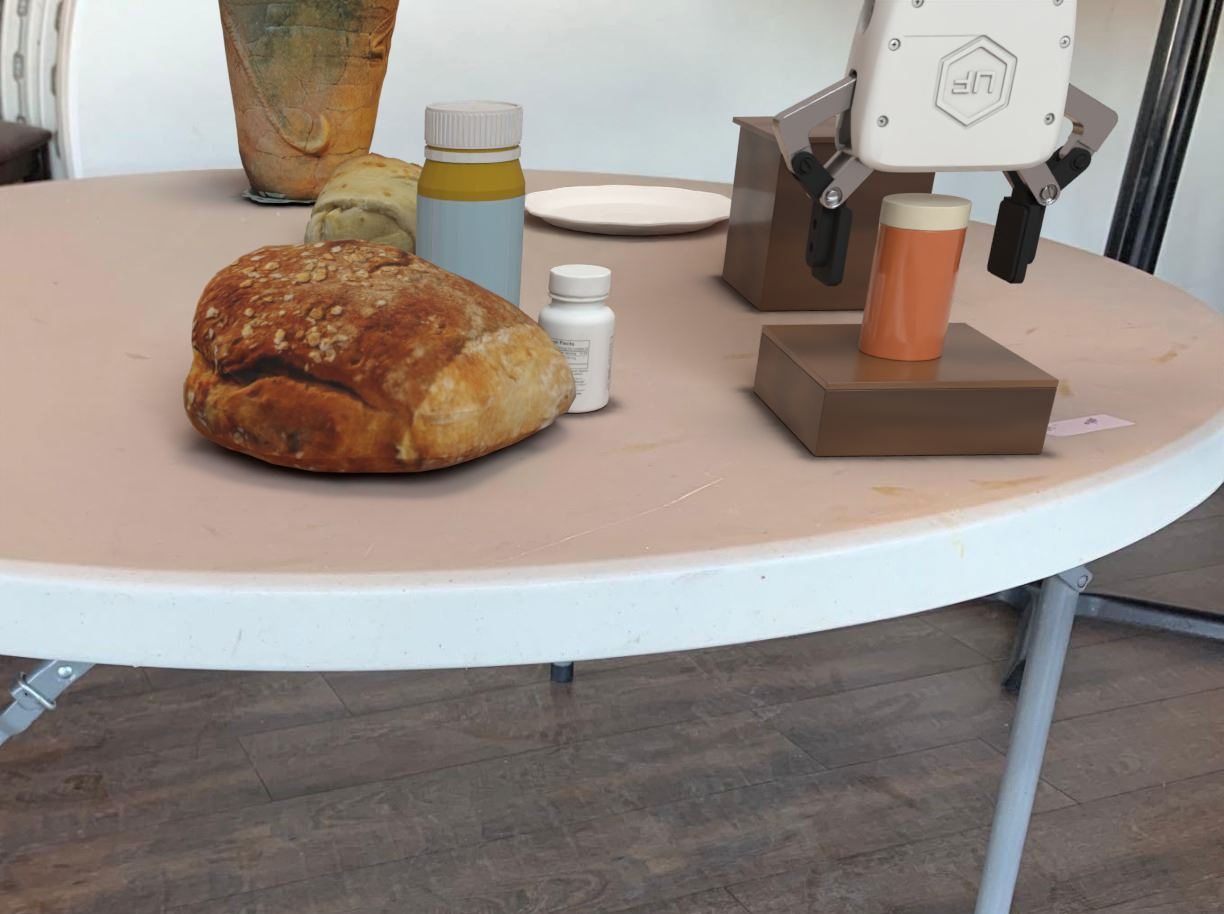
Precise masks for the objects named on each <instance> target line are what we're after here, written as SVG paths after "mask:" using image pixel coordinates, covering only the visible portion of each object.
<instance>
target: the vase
mask: <svg viewBox="0 0 1224 914" xmlns="http://www.w3.org/2000/svg"><path fill="white" fill-rule="evenodd" d="M217 3H218V10H219V16H220V17H219V18H220V24H221V30H222V37H223V45H224V54H225V60H226V61H225V62H226V68H227V73H228V81H229V86H230V93H231V99H232V105H233V112H234V120H235V121H234V122H235V127H236V137H237V147H238V154H239V157H240V162H241V165H242V168H243V170H244V173H245V175H246V177H247V179H248V183H249V185H250V188H248V189H245V190H243V194H242V195H241V196H242V197H246V198H251V200H252V201H257V202H259V203H277V204H278V203H279V204H280V203H281V204H283V203H284V204H285V203H305V204H310V203H316V201H317V198H318V196H319V194H320V192H321V191H322V190H323V188H324V186H325V184H326V182H327V181H328V179H329V177H330V175H331V173H332V170H333V169H334V168H335V167H336V166H337V165H338V164H339V163H341V162H342V161H344V160H347V159H349V158H352V157H356V156H360V155H365V154H370V150H371V146H372V143H373V139H374V135H375V129H376V124H377V118H378V112H379V106H380V98H381V94H382V89H383V84H384V81H385V79H386V76H387V72H388V66H389V65H388V64H389V56H390V52H391V49H392V38H393V35H394V31H395V27H396V20H397V15H398V10H399V6H400V5H399V4H400V0H217Z"/></svg>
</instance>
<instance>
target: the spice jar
mask: <svg viewBox="0 0 1224 914" xmlns="http://www.w3.org/2000/svg"><path fill="white" fill-rule="evenodd" d="M972 208H973V202H972V201H971V200H970V199H968V198H965V197H961V196H956V195H951V194H941V193H932V194H928V193H903V194H893V195H888V196H885V197H884V198H883V201H882V207H881V213H880V219H879V224H878V230H877V236H876V242H875V248H874V254H873V260H872V266H871V272H870V278H869V284H868V289H867V295H866V301H865V307H864V310H863V314H862V320H861V324H862V325H861V331H860V337H859V343H858V349H859V350H860V351H862V352H863V353H866V354H868V355H871V356H875V357H879V358H884V359H891V360H900V361H924V360H931V359H935V358H938V357H940V356H941V355H942V353H943V348H944V343H945V338H946V333H947V328H948V323H950V317H951V312H952V309H953V302H954V298H955V294H956V293H955V292H956V287H957V283H958V277H959V272H960V268H961V264H962V263H961V262H962V257H963V252H964V247H965V243H966V238H967V232H968V226H969V221H970V217H971V212H972Z"/></svg>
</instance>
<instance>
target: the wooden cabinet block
mask: <svg viewBox="0 0 1224 914" xmlns="http://www.w3.org/2000/svg"><path fill="white" fill-rule="evenodd" d="M775 116H776V115H774V116H772V115H771V116H767V115H766V116H764V115H763V116H733V117H732V123H734V124H736V125H737V126H739V135H738V143H737V151H736V158H735V159H736V160H735V168H734V174H733V175H734V176H733V184H732V193H731V199H732V200H731V208H730V216H729V219H728V225H727V232H726V242H725V249H724V251H725V252H724V258H723V267H722V268H723V269H722V273H721V274H722V275H721V279H723V280H724V281H725V282H727V284H729V285H730V286H731V287H732V288H733V289H735V290H736V292H738V294H740V295H741V296H742V297H744V298H745V299H746V300H747V301H748V302H750V303H751V305H753V306H754V307H756V309H757V310H759V311H760V312H761V311H762V312H766V311H769V312H770V311H771V312H773V311H846V310H848V311H854V310H855V311H857V310H859V311H860V310H861V311H862V310H863V311H864V307H865V301H866V295H867V289H868V284H869V278H870V272H871V266H872V260H873V254H874V248H875V242H876V236H877V230H878V224H879V219H880V213H881V207H882V201H883V198H884V197H885V196H888V195H893V194H903V193H928V194H933V188H934V183H935V177H936V173H937V172H885V171H879V170H876V169H875V170H874V171H873V172H872V173H871V174H870V175H869V176H868V177H867V178H866V179H865V180H864V181H863V182H862V183H861V184H860V185H859V186H858V187H857V188H856V190H855V191H854V192H853V193H852V194H851V195H850V196H849V197H848V198H847V201H846V207H847V208H849V209H851V210H852V213H853V217H852V224H851V230H850V236H849V243H848V249H847V255H846V262H845V268H844V274H843V280H842V283H841V284H838V286H826V285H824V284H823V283H821V282H820V281H819V280H817V279H816V278H814V277H813V276H812V274H811V267H809V266H808V265H807V264H806V248H807V241H808V234H809V227H810V220H811V213H812V206H813V200H812V199H810V198H809V197H808V196H807V194H806V191H805V190H804V189H803V188H802V187H801V185H800V184H799V183H798V182H797V181H796V179H795V178H794V177H793V176H792V175H791V173H790V172H789V171H788V170H787V168H786V166H785V159H784V157H783V154H782V153H781V150H780V147H779V144H778V142H777V139H776V136H775V133H774V131H773V128H772V120H773V118H774V117H775ZM836 119H837V115H836V116H834V117H832V118H830V119H828V120H826V121H824V122H823V123H821V124H819V125H817V126H815V127H814V128H812V130H811V131H810V133H809V142H810V144H811V145H810V147H811V149H812V152H813V155H814V156H815V157H816V158H817V159H818V160H819V162H820V163H821V164H822V165H823V166H824V165H825V164H826V163H827V162H828V161H829V160H830V159H831V158H832V156H833V155H834V154H835V153H836V152H837V149H836V146H835V128H836Z"/></svg>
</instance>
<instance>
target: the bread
mask: <svg viewBox="0 0 1224 914" xmlns="http://www.w3.org/2000/svg"><path fill="white" fill-rule="evenodd" d="M190 341H191V348H192V355H193V359H192V362H191V366H190V369H189V372H188V374H187V376H186V377H185V380H184V382H183V385H182V387H183V388H182V389H183V390H182V401H183V408H184V412H185V415H186V417H187V419H188V420H189V423H190V424H191V426H192V428H194V429H195V430H196V432H198V433H199V434H200V435H201V436H203V437H204V438H205V439H207V440H209V441H211V442H213V443H216V444H218V445H219V446H221V447H223V448H226V449H229V450H232V451H235V452H240V453H242V454H245V455H249V456H251V457H254V458H256V459H259V460H261V461H264V462H266V463H270V464H272V465H277V466H282V467H287V468H288V467H289V468H293V469H297V470H304V471H310V472H315V473H344V474H345V473H347V474H348V473H351V474H352V473H354V474H355V473H357V474H359V473H361V474H362V473H420V472H426V471H432V470H437V469H444V468H448V467H451V466H455V465H458V464H461V463H465V462H469V461H471V460H474V459H476V458H477V459H478V458H480V457H483V456H486V455H489V454H491V453H493V452H495V451H498V450H500V449H503V448H507V447H509V446H511V445H514V444H516V443H518V442H520V441H522V440H524V439H526V438H528V437H530V436H532V435H534V434H535V433H537V432H540V431H542V430H543V429H545V428H546V427H549V426H550V425H553V423H555V421H556V420H557V419H558V418H559V417H560V416H561V415H564V414H566V413H569V412H568V410H569V408H570V407H571V405H572V403H573V401H574V399H575V398H576V388H575V379H574V377H573V374H572V371H571V368H570V366H569V363H568V361H567V360H566V358H565V356H564V355H563V354H562V353H561V351H560V350H559V349H558V348H557V346H556V345H555V343H554V342H553V340H552V339H551V337H550V336H549V334H548V333H547V332H546V331H545V330H544V329H543V328H542V327H541V326H540V325H539V324H538V321H536V320H535V319H533V318H532V317H531V316H530V315H529V314H527V313H526V312H524V311H523V310H522V309H520V307H519V308H518V307H517V306H515V305H514V304H512V303H510V302H509V301H507V300H506V299H504V298H502V297H500V296H498V295H497V294H495V293H493V292H491V291H489V290H487V289H485V288H483V287H481V286H480V285H478V284H476V283H474V282H472V281H470V280H468V279H466V278H463V277H461V276H459V275H456V274H454V273H451V272H449V271H447V270H444V269H442V268H440V267H438V266H436V265H434V264H432V263H430V262H428V261H426V260H424V259H422V258H420V257H418V256H416V255H414V254H411V253H408V252H406V251H403V250H401V249H398V248H395V247H393V246H390V245H385V244H376V243H372V242H368V241H365V240H361V239H331V240H326V241H320V242H315V243H306V244H304V243H298V244H275V245H274V244H273V245H272V244H271V245H263V246H261V247H259V248H257V249H255V250H253V251H250V252H249V253H245V254H244V255H243V254H242V255H241V256H239V257H238V258H236V260H234V261H233V262H232V263H230V264H228V265H227V266H225V267H223V268H222V269H220V270H219V271H217V272H215V274H214V275H213V277H212V278H211V279H210V280H209V282H208V283H207V284H205V287H204V289H203V291H202V293H201V295H200V297H199V299H198V301H197V303H196V307H195V311H194V314H193V318H192V323H191V339H190Z"/></svg>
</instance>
